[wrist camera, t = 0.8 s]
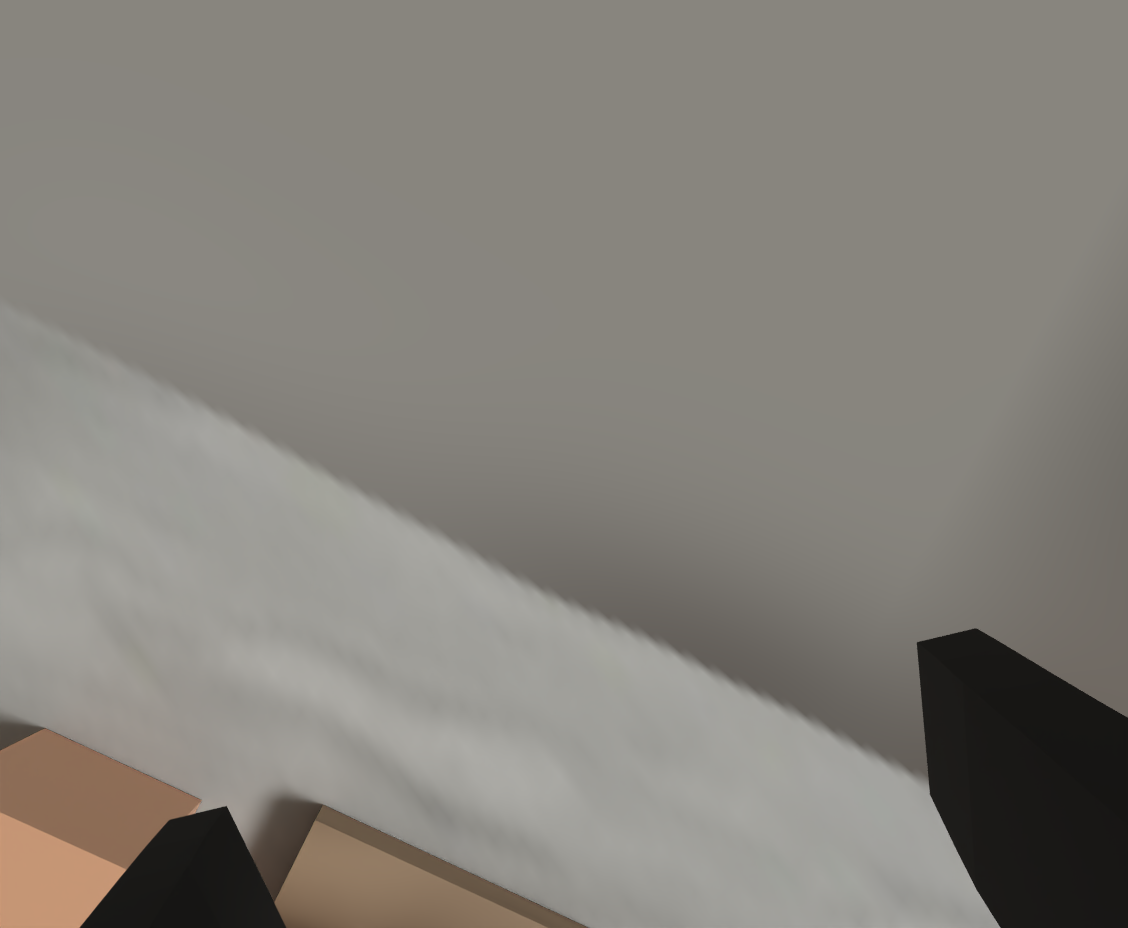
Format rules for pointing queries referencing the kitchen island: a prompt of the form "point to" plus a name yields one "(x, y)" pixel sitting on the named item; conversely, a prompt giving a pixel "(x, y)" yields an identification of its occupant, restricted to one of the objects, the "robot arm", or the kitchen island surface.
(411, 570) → the kitchen island surface
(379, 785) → the kitchen island surface
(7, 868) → the peach cube
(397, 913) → the stand
